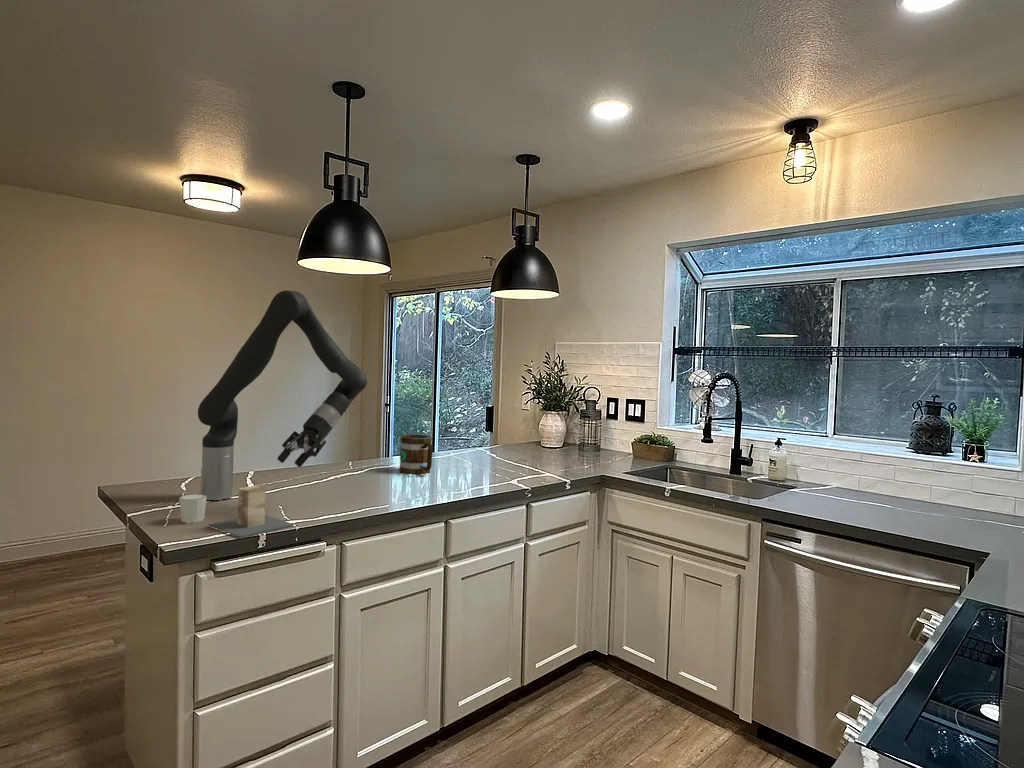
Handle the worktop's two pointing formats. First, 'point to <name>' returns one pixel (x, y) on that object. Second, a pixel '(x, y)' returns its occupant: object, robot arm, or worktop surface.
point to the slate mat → (243, 532)
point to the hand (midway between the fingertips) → (288, 463)
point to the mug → (415, 454)
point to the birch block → (251, 506)
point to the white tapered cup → (192, 507)
